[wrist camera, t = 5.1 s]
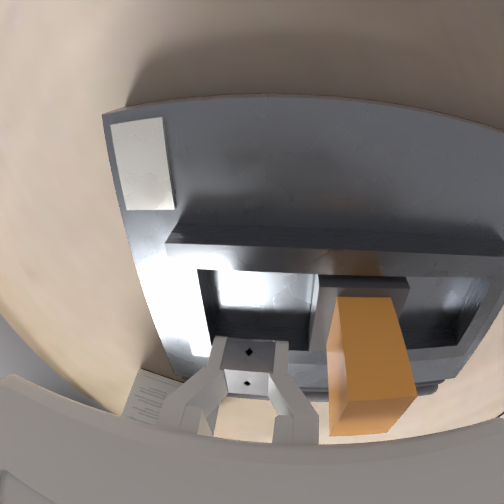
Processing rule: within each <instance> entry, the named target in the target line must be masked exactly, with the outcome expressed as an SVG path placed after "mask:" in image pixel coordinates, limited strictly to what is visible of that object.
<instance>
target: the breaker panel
mask: <svg viewBox="0 0 504 504" xmlns="http://www.w3.org/2000/svg"><path fill="white" fill-rule="evenodd" d="M102 119H103V126H104V133H105V139H106V144H107V150H108V156H109V161H110V166H111V171H112V176H113V181H114V185H115V190H116V194H117V199H118V203H119V207H120V211H121V215H122V219H123V223H124V227H125V231H126V235H127V238H128V242H129V245H130V249H131V253H132V256H133V259H134V263H135V266H136V269H137V273H138V276H139V279H140V282H141V285H142V288H143V291H144V294H145V297H146V300H147V303H148V306H149V309H150V312H151V315H152V318H153V320H154V323H155V326H156V329H157V331H158V334H159V337H160V339H161V342H162V344H163V347H164V349H165V352H166V354H167V357H168V359H169V362H170V364H171V367H172V369H173V372H174V374H175V375H177V376H183V377H190V378H191V377H192V376H193V375H194V374H196V373H197V372H198V371H199V370H200V369H201V368H203V367H205V368H206V367H207V363H208V359H209V356H210V352H211V348H212V344H213V341H214V338H215V337H216V336H222V337H232V338H241V339H251V340H252V339H259V340H276V341H288V342H289V349H288V367H287V374H288V375H291V376H292V377H293V379H294V380H295V382H296V383H297V385H298V386H299V387H328V366H327V351H309V332H308V326H309V320H310V313H311V306H312V298H313V291H314V283H315V275H316V274H327V275H359V276H400V277H406V279H407V281H408V284H409V286H410V291H409V294H408V297H407V299H406V302H405V305H404V307H403V310H402V312H401V315H400V317H399V320H398V322H399V325H400V329H401V332H402V336H403V339H404V343H405V346H406V350H407V354H408V358H409V361H410V365H411V369H412V374H413V378H414V382H415V383H419V382H428V381H436V380H443V379H450V378H455V377H456V376H457V374H458V373H459V372H460V370H461V369H462V368H463V366H464V365H465V364H466V362H467V361H468V360H469V358H470V357H471V355H472V354H473V353H474V351H475V350H476V348H477V347H478V345H479V344H480V342H481V341H482V339H483V338H484V336H485V335H486V333H487V331H488V330H489V328H490V327H491V325H492V323H493V322H494V320H495V318H496V317H497V315H498V313H499V311H500V310H501V308H502V306H503V304H504V131H502V130H499V129H497V128H493V127H490V126H487V125H484V124H481V123H477V122H474V121H471V120H467V119H463V118H460V117H456V116H452V115H448V114H444V113H439V112H435V111H431V110H426V109H421V108H416V107H411V106H405V105H399V104H393V103H387V102H380V101H373V100H365V99H357V98H347V97H336V96H323V95H305V94H234V95H216V96H203V97H192V98H182V99H173V100H166V101H158V102H151V103H145V104H139V105H133V106H127V107H123V108H120V109H117V110H114V111H111V112H108V113H105V114H102Z"/></svg>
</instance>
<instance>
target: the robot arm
mask: <svg viewBox="0 0 504 504" xmlns="http://www.w3.org/2000/svg"><path fill="white" fill-rule="evenodd" d="M288 349H289V342H288V341H276V340H259V339H252V340H251V339H241V338H232V337H222V336H216V337H215V338H214V341H213V344H212V348H211V352H210V356H209V359H208V363H207V367H206V368H205V367H203V368H201V369H200V370H199V371H198V372H197V373H196V374H194V375H193V376H192V377H191V378H190V379H188V380H187V381H186V382H185V383H184V384H182V385H181V386H180V387H179V388H178V389H176V390H175V391H174V392H173V393H172V394H170V395H169V396H168V397H167V398H165V399H164V402H163V405H162V408H161V411H160V414H159V417H158V420H157V423H156V426H154V425H150V424H146V423H142V422H139V421H135V420H131V419H128V418H124V417H121V416H118V415H114V414H111V413H108V412H105V411H102V410H99V409H96V408H93V407H90V406H87V405H84V404H82V403H79V402H76V401H74V400H71V399H69V398H66V397H64V396H61V395H59V394H56V393H54V392H51V391H49V390H47V389H45V388H42V387H40V386H38V385H36V384H34V383H32V382H29V381H27V380H25V379H23V378H21V377H19V376H17V375H15V374H9V375H7V376H5V377H3V378H1V379H0V504H504V414H503V415H502V416H500V417H498V418H493V419H490V420H487V421H484V422H480V423H477V424H473V425H469V426H465V427H461V428H457V429H453V430H448V431H444V432H439V433H434V434H429V435H423V436H417V437H411V438H404V439H396V440H388V441H379V442H368V443H353V444H327V445H318V443H319V415H318V414H317V412H316V411H315V409H314V408H313V407H312V405H311V404H310V402H309V401H308V399H307V398H306V396H305V395H304V394H303V392H302V391H301V389H300V388H299V386H298V385H297V383H296V382H295V380H294V379H293V377H292V376H291V375H288V374H287V367H288ZM228 393H239V394H251V395H261V396H268V397H269V399H270V401H271V403H272V405H273V407H274V409H275V411H276V412H277V414H278V416H277V417H276V418H275V424H274V433H273V441H272V443H262V442H250V441H240V440H232V439H224V438H217V437H211V430H210V428H209V425H208V423H207V420H206V417H207V416H208V415H209V414H210V413H211V412H212V411H213V410H214V409H215V408H216V406H217V405H218V404H219V403H220V402H221V401H222V400H223V399H224V398H225V397H226V396H227V394H228Z"/></svg>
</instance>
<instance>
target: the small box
mask: <svg viewBox="0 0 504 504" xmlns="http://www.w3.org/2000/svg"><path fill="white" fill-rule="evenodd" d="M182 384H184V383H181V382H178V381H175V380H172V379H169V378H166V377H163V376H160V375H157V374H154V373H152V372H149V371H146V370H143V369H139V371H138V373H137V376H136V378H135V381H134V384H133V386H132V389H131V391H130V394H129V397H128V399H127V402H126V405H125V408H124V410H123V413H122V416H121V417H124V418H128V419H131V420H135V421H139V422H142V423H146V424H150V425H154V426H156V423H157V420H158V417H159V414H160V411H161V408H162V405H163V402H164V399H165V398H167V397H168V396H169V395H170V394H172V393H173V392H174V391H175V390H176V389H178V388H179V387H180V386H181V385H182ZM218 408H219V404H218V405H217V406H216V408H215V409H214V410H213V411H212V412H211V413H210V414H209V415H208V416H207V417H206V420H207V423H208V425H209V428H210V430H211V437H213V435H214V429H215V424H216V419H217V413H218Z"/></svg>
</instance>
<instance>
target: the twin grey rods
mask: <svg viewBox="0 0 504 504" xmlns="http://www.w3.org/2000/svg"><path fill="white" fill-rule="evenodd" d="M182 378H183V379H184V380H186V381H187V380H188V379H190V377H183V376H182ZM444 380H445V379H443V380H436V381H428V382H419V383H415V386H416V391H417V396H422V395H430V394H433V393H435V392H436V391H437V389H438V384H440V383H442V382H444ZM186 381H185V382H186ZM299 388H300V389H301V391H302V392H303V394H304V395H305V396H306V398H307V399H308V401H309V402H329V388H328V387H299ZM227 397H237V398H248V399H260V400H270V399H269V397H268V396H261V395H251V394H239V393H228V394H227Z"/></svg>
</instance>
